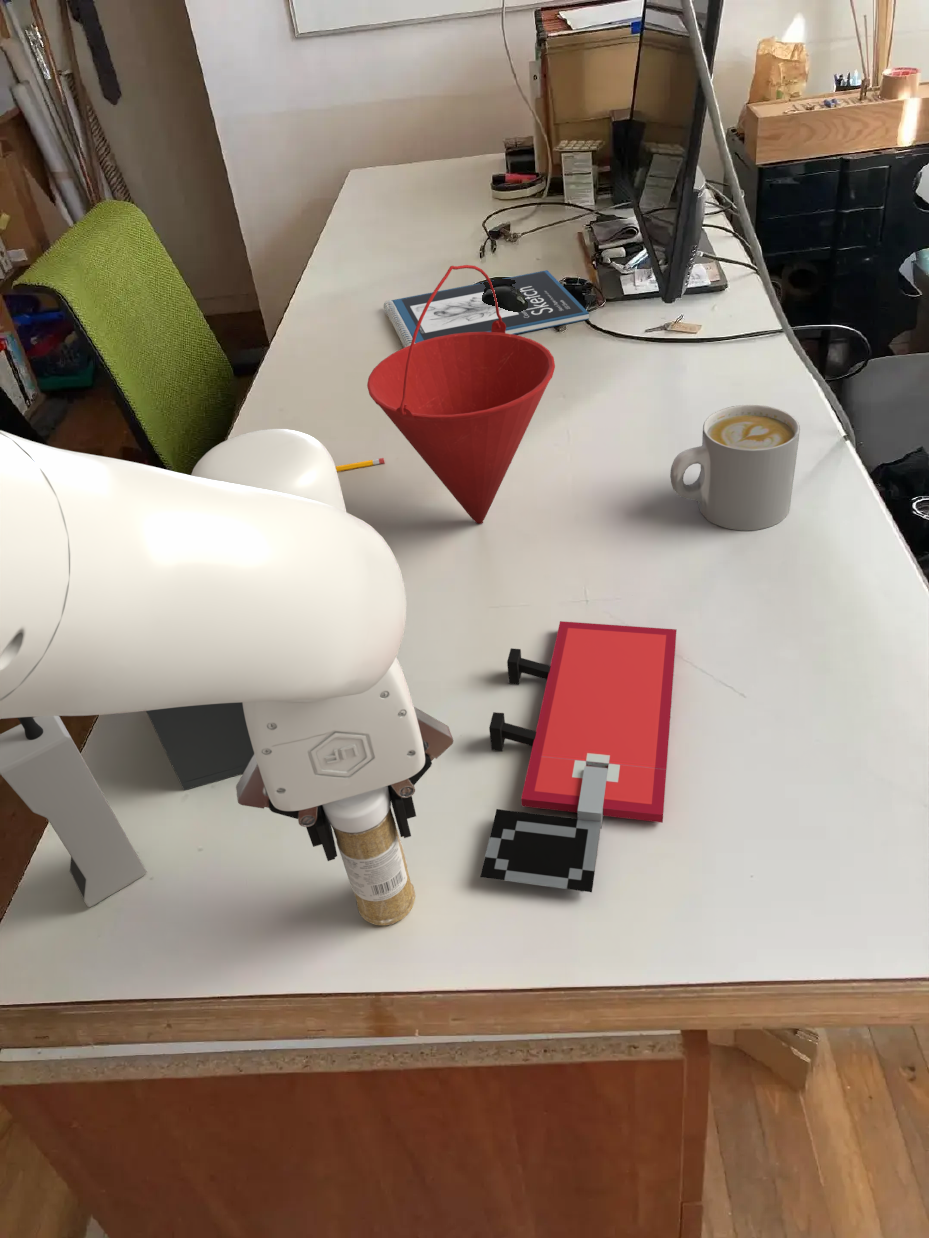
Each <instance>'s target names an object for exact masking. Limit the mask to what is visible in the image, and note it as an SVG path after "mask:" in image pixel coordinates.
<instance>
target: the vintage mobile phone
mask: <svg viewBox="0 0 929 1238" xmlns="http://www.w3.org/2000/svg"><path fill="white" fill-rule="evenodd" d="M17 720H18V721H19V724H18V725H16V726H14V727H12V728H10V729H8V730H6V731H4V732H2V733H0V776H1V777H2V778H3V779H4V781H6V782H7V784H8V785H9V786H10V787H11V789H12V790H13V791H14V792H15V793H16V795H18V797H19V798H20V799H21V800H22V801H23V802H24V804H25V805H26V806H27V807H28V809H30V811H31V812H32V813H33V814H36V815H39V816H41V817H43V818H46V820H47V821H48V822H49V824H50V825H51V827H52V828H53V831H54V832H55V833H56V835H57V836H58V838H59V839H60V841H61V843H62V845H63V846H64V847H65V849H66V850H67V852H68V854H69V855H70V860H69V861H70V862H69V874H70V875H71V877H72V880H73V881H74V884H75V886H76V888H77V890H78V892H79V895H80V896H81V898H82V900H83V902H84V903H85V905H86V907H87V908H91V907H94V906H96V905H97V904H99V903H100V902H102V901H104V900H106V899H107V898H109V897H111V896H112V895H114V894H116V893H117V892H119V891H121V890H122V889H124V888H126V887H127V886H129V885H130V884H133V883H134V882H135V881H137V880H139V879H140V878H142V877H144V876H145V875H146V874H147V873H148V872H147V870H146V868H145V866H144V864H143V862H142V861H141V859H140V857H139V856H138V853H137V852H136V850H135V848H134V847H133V845H132V843H131V841H130V839H129V837H128V836H127V833H126V832H125V831H124V829H123V827H122V825H121V824H120V821H119V820H118V818H117V816H116V814H115V813H114V811H113V809H112V807H111V806H110V804H109V802H108V800H107V798H106V796H105V795H104V792H103V791H102V790H101V788H100V786H99V785H98V782H97V781H96V779H95V777H94V776H93V774H92V772H91V770H90V768H89V767H88V765H87V763H86V761H85V759H84V758H83V756H82V754H81V752H80V751H79V749H78V747H77V745H76V744H75V741H74V740H73V738H72V736H71V734H70V733H69V731H68V730H67V728H66V725H65V724H64V722H63V720H62V719H61V716H35V717H18V718H17Z"/></svg>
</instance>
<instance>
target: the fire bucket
mask: <svg viewBox="0 0 929 1238" xmlns="http://www.w3.org/2000/svg"><path fill="white" fill-rule="evenodd" d="M464 269H470V270H475V271H478V272H479V273H481V275H483V277H484V278H485V279H486V282H488V283H489V285H490V288H491V291H492V293H493V297H494V301H495V307H496V314H497V317H498V318H499V320H497V321H494V322H493V323H492V330H491V332H467V333H458V334H450V335H445V336H440V337H435V338H431V339H428V340H424V341H421V342H418V343H415V339H416V336H417V333H418V330H419V327H420V325H421V322H422V319H423V317H424V315H425V313H426V311H427V309H428V307H429V305H430V303H431V301H432V300H433V298H434V296H435V295H436V293H437V291H440V288H441V287H442V286H443V284H444V283H445V281H446V280H447V279H448V277H449V276H450V274H451V272H452V271H453V270H454V271H455V270H464ZM491 281H492V280H491V278H490V277H489V275H488V274H487V273H486V272H485V271H484V270H483V269H482V268H480V267H478V266H476V265H473V264H472V265H471V264H464V265H450V266H449V267H448V269H447V271H446V273H445V274H444V275H443V277H442V278H441V280H440V281H439V282H438V284H437V286H436V287H435V289H434V290H433V291H432V292H433V293H432V292H431V293H432V295H431V297H430V298H429V300H428V302H427V303H426V306H425V308H424V310H423V312H422V314H421V316H420V318H419V321H418V324H417V326H416V329H415V332H414V335H413V338H412V342H411V345H410V346H407V345H406V346H407V347H405V348H404V347H402V348H401V349H399V350H397V351H395V352H393V353H391V354H390V355H388V356H387V357H385V358H384V359H382V360H381V361H379V363H377V365H376V366H375V367H373V369H372V371H371V373H370V374H369V376H368V379H367V385H366V386H367V387H366V388H367V390H368V391H367V392H368V394H369V397H370V398H371V399H372V400H373V402H374V403H375V404H376V405H377V406H379V407H380V409H381V410H382V411H383V412H384V413H385V415H386V416H387V417H388V419H389V420H390V421H391V422H392V424H394V426H395V427H396V428H397V429H398V431H399V432H400V433H401V434H402V436H403V437H404V438H405V439H406V440H407V442H408V443H409V444H410V445H411V447H412V448H413V449H414V450H415V452H416V453H417V454H418V456H420V457H421V458H422V460H423V461H424V463H426V465H427V466H428V467H429V468H430V470H431V471H432V472H433V473H434V474H435V476H436V477H437V478H438V479H439V480H440V482H441V483H442V485H444V487H445V488H446V489H447V490H448V491H449V492H450V494H451V495H452V497H453V498H454V499H455V500H456V501H457V502H458V503H459V505H460V506H461V507H462V508H463V510H464V511H465V513H467V515H468V516H469V517H470V518H471V519H472V521H474V522H475V524H479V525H480V524H481V525H482V524H484V520H485V519H486V517H487V515H488V513H489V510H490V508H491V506H492V504H493V502H494V500H495V497H496V495H497V493H498V491H499V489H500V487H501V485H502V483H503V480H504V478H505V476H506V474H507V472H508V470H509V468H510V466H511V463H512V462H513V459H514V457H515V454H516V453H517V451H518V448H519V446H520V444H521V442H522V441H523V438H524V435H525V433H526V432H527V429H528V427H529V425H530V424H531V421H532V419H533V417H534V415H535V412H536V411H537V409H538V406H539V404H540V401H541V400H542V398H543V396H544V393H545V391H546V389H547V387H548V385H549V383H550V381H551V380H552V379H553V376H554V372H555V369H556V364H555V358H554V356H553V354H552V353H551V351H550V350H549V348H547V347H545V346H544V345H543V344H542V343H539V342H538V341H536V340H533V339H531V338H528V337H526V336H523V335H522V336H521V335H519V334H514V335H513V334H507V333H505V331H506V325H505V323H504V322H502V318H501V316H500V314H499V308H498V302H497V298H496V294H495V290H494V288H493V285H492V282H491ZM500 327H501V328H500ZM414 343H415V344H414Z"/></svg>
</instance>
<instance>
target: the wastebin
mask: <svg viewBox="0 0 929 1238" xmlns="http://www.w3.org/2000/svg"><path fill="white" fill-rule="evenodd" d="M146 714H147V716H148V718H149V720H150V722H151V724H152V726H153V729H154V730H155V733H156V735H157V737H158V739H159V741H160V743H161V745H162V747H163V750H164V752H165V754H166V756H167V758H168V760H169V763H170V764H171V766H172V768H173V770H174V773H175V775H176V777H177V779H178V782H179V783H180V785H181V787H182V789H183V791H186V790H190V789H194V788H198V787H201V786H204V785H208V784H212V783H215V782H219V781H223V780H226V779H229V778H233V777H236V776H239V775H243V773H244V771H245V769H246V767H247V766H248V764H249V762H250V760H251V758H252V756H253V755H254V750H253V747H252V743H251V740H250V736H249V732H248V729H247V725H246V720H245V715H244V710H243V703H242V702H239V703H220V704H207V705H195V706H184V707H174V708H166V709H157V710H147V711H146Z"/></svg>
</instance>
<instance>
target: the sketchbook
mask: <svg viewBox="0 0 929 1238" xmlns="http://www.w3.org/2000/svg"><path fill="white" fill-rule="evenodd" d="M503 279H511V280H515V282H516V283H515V284H512V286H513V287H515V289H519V291H520V292H521V294H522V295H524V297H525V300H526V301H527V302H528V308H527V309H526V310H523V311H521V312H513V311H508V310H505V309H503V308H500V307H498V308H499V314H500V316H501V318H502V322H504V323H505V325H506V331H505V333H507V334H513V335H519V334H523V333H529V332H533V331H538V330H542V329H548V328H553V327H560V326H563V325H569V324H572V323H577V322H583V321H588V320H590V312H589V311H588V310H587V309H586V308H585V307H584V306H583V305H582V304H581V303H580V302H579V301H578V300H577V299H576V298H575V297H574V296H573V295H572V294H571V293H570V292H569V290H567V289H566V288H565V286H564V285H562V284H561V282H559V280H557V278H556V277H555V276H554V275H553V274H551V272H550V271H549V270H548V269H546V270H541V271H535V272H531V273H530V272H529V273H525V274H520V275H514V276H510V277H505V278H503ZM484 282H485V281H484ZM484 282H478V283H474V284H473V283H472V284H469V285H468V284H467V285H463V286H458V287H453V288H447V289H443V290H438V291H437V293H436V295H435V296H434V298H433V300H432V301H431V303H430V305H429V307H428V309H427V311H426V313H425V315H424V317H423V319H422V322H421V325H420V327H419V330H418V333H417V336H416V339H415V343H418V342H421V341H424V340H428V339H431V338H435V337H440V336H445V335H450V334H458V333H467V332H491V330H492V323H493V322H494V321H497V320H499V318H498V317H497V314H496V307H495V306H492V305H488V304H486V303H484V302H483V301H482V295H483V293H484V289H485V288H486V287H485V285H484V284H483V283H484ZM480 283H482V284H480ZM433 292H434V291H432V292H427V293H422V294H417V295H412V296H406V297H402V298H396V299H389V300H388V299H387V300H385V301H384V303H383V309H384V310H385V313H386V314H387V316H388V319H389V320H390V322H391V325H392V326H393V328H394V330H395V332H396V334H397V336H398V338H399V340H400V342H401V344H402V346H403V348H405V347H407V346H410V345H411V342H412V338H413V335H414V332H415V329H416V326H417V324H418V321H419V318H420V316H421V314H422V312H423V310H424V308H425V306H426V303H427V302H428V300H429V298H430V297H431V295H432V293H433ZM500 328H501V327H500ZM415 343H414V344H415Z"/></svg>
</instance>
